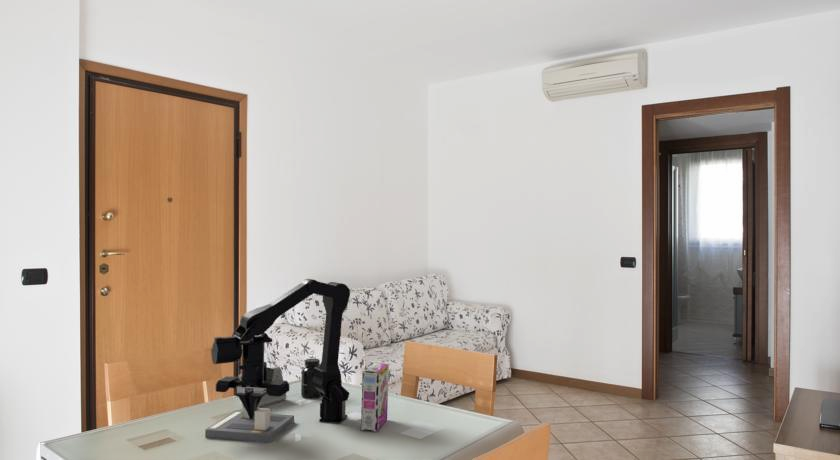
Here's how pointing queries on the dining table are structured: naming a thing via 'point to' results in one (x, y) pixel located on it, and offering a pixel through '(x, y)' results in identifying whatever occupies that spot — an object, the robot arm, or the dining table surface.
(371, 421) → the candy bar box
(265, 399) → the digital clock
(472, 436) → the dining table surface
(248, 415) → the switch tab
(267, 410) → the switch tab
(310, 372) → the supplement bottle
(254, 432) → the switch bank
